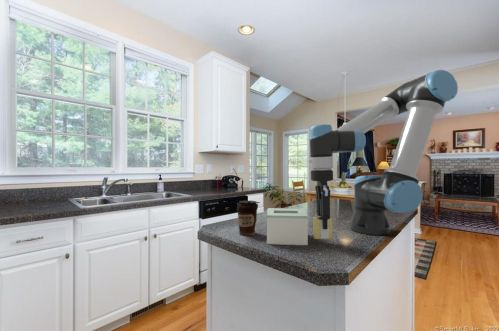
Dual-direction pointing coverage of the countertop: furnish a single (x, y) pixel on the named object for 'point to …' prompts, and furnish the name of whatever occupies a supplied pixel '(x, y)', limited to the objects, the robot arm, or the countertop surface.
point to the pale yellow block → (317, 228)
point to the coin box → (287, 226)
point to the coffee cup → (247, 217)
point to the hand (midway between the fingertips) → (323, 236)
